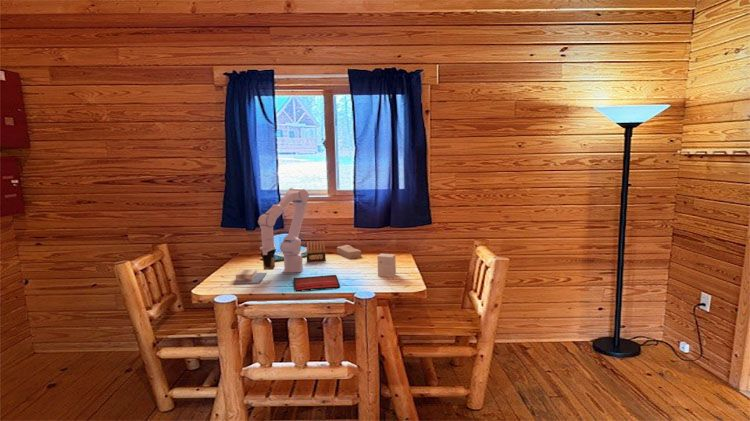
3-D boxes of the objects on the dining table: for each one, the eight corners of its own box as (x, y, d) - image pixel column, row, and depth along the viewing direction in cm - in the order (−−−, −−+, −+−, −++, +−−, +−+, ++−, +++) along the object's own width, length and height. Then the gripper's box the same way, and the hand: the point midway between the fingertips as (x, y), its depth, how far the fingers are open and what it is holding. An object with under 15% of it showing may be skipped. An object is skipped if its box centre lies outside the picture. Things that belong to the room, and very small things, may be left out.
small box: (395, 274, 212) (395, 254, 211) (392, 277, 207) (392, 257, 205) (381, 273, 215) (380, 253, 213) (377, 276, 210) (377, 255, 208)
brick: (362, 257, 246) (362, 249, 245) (349, 259, 242) (349, 251, 241) (348, 251, 260) (348, 244, 259) (336, 253, 255) (336, 246, 255)
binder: (293, 277, 203) (336, 274, 208) (293, 281, 204) (336, 278, 208) (294, 289, 188) (340, 285, 193) (294, 294, 188) (340, 290, 193)
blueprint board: (266, 273, 215) (266, 267, 215) (258, 284, 200) (258, 276, 199) (243, 274, 215) (242, 267, 215) (233, 284, 199) (233, 277, 199)
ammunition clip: (325, 259, 241) (324, 239, 239) (325, 260, 239) (325, 240, 237) (306, 261, 238) (305, 240, 236) (307, 262, 236) (306, 241, 235)
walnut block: (274, 266, 209) (274, 257, 208) (272, 269, 205) (272, 259, 204) (265, 267, 209) (265, 257, 208) (263, 269, 205) (263, 259, 204)
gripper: (263, 235, 212) (264, 261, 214) (255, 242, 197) (257, 269, 199) (277, 235, 212) (278, 261, 214) (270, 242, 197) (272, 269, 200)
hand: (269, 265), depth 207 cm, fingers closed on walnut block, 4 cm apart
